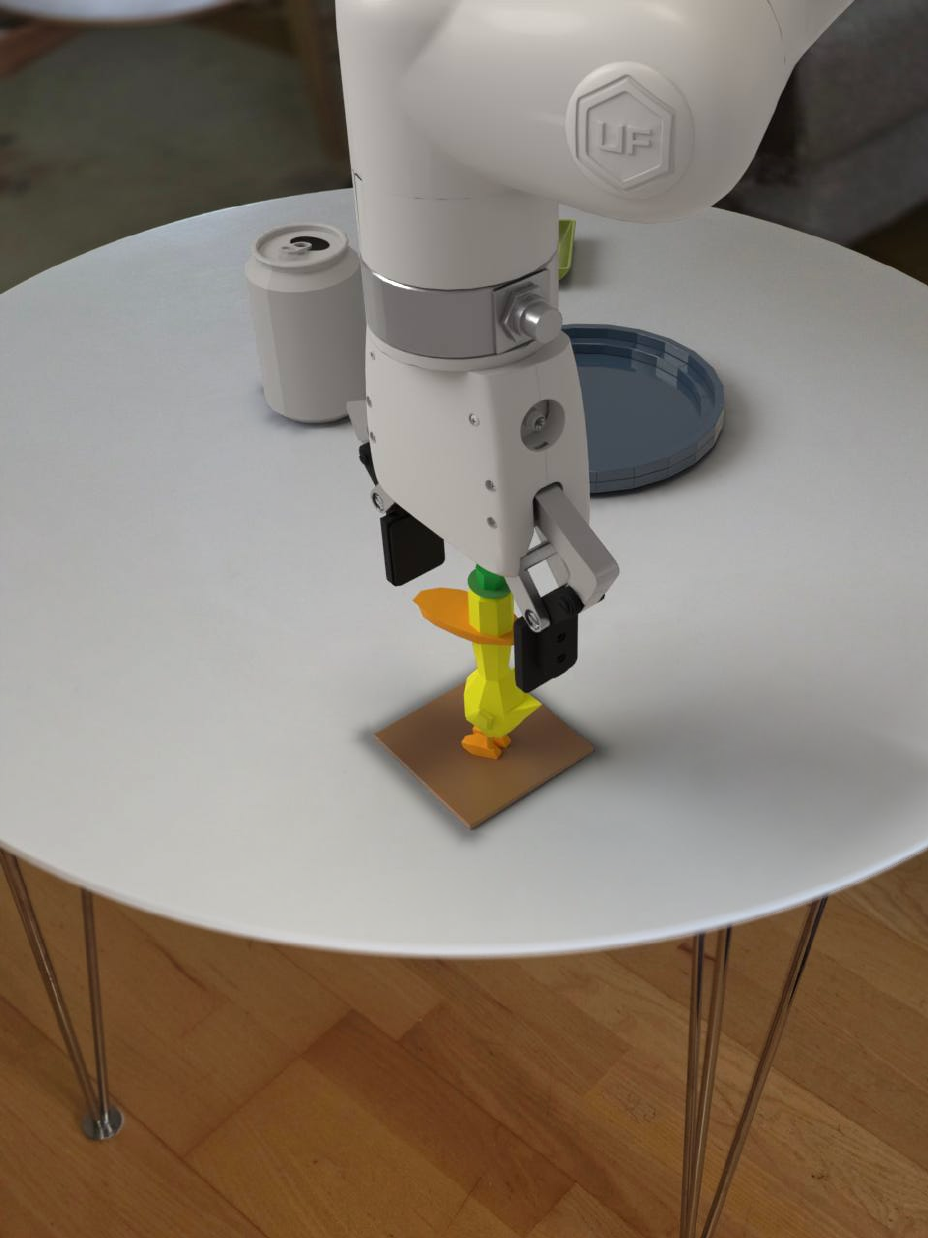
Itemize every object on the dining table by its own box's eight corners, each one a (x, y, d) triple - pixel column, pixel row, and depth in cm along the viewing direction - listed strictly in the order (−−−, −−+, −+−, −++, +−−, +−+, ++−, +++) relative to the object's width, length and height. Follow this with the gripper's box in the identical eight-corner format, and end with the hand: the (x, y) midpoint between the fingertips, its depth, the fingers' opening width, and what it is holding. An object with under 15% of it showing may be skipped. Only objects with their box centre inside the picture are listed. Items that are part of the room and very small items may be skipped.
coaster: (594, 752, 69) (594, 746, 69) (470, 831, 65) (470, 826, 65) (494, 669, 74) (494, 664, 73) (373, 739, 70) (372, 734, 70)
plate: (779, 425, 90) (783, 397, 89) (573, 537, 82) (573, 508, 81) (593, 324, 101) (594, 297, 100) (395, 414, 93) (392, 386, 92)
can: (395, 389, 96) (380, 228, 88) (331, 442, 91) (310, 277, 83) (309, 363, 99) (288, 205, 91) (244, 413, 94) (216, 251, 86)
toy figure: (409, 741, 69) (391, 557, 62) (445, 698, 72) (432, 514, 64) (525, 789, 67) (522, 602, 59) (559, 742, 69) (560, 556, 61)
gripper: (691, 338, 49) (667, 682, 60) (406, 192, 60) (431, 508, 71) (532, 415, 46) (537, 764, 57) (260, 245, 56) (310, 568, 68)
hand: (478, 622), depth 64 cm, fingers open, 9 cm apart
